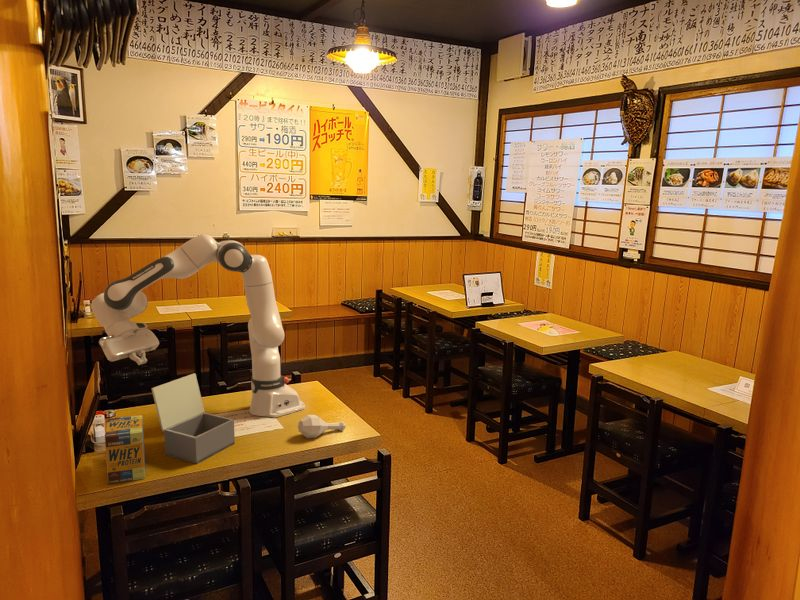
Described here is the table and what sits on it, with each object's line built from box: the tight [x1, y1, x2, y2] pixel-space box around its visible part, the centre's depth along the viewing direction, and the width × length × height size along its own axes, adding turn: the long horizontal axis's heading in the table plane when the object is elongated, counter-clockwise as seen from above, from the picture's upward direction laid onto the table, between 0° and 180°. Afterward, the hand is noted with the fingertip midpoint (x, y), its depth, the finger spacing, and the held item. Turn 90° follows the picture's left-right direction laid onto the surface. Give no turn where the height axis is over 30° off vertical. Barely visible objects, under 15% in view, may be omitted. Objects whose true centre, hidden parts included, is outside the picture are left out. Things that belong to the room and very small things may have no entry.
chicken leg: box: [297, 414, 347, 439], centre depth 216 cm, size 8×18×8 cm, turn 123°
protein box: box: [104, 414, 146, 485], centre depth 183 cm, size 10×15×16 cm
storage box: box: [163, 412, 236, 465], centre depth 200 cm, size 14×18×9 cm
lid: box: [151, 373, 206, 431], centre depth 202 cm, size 14×19×1 cm
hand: (143, 363), depth 207 cm, fingers closed
